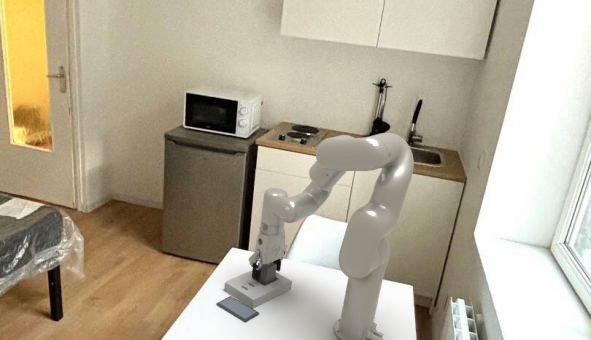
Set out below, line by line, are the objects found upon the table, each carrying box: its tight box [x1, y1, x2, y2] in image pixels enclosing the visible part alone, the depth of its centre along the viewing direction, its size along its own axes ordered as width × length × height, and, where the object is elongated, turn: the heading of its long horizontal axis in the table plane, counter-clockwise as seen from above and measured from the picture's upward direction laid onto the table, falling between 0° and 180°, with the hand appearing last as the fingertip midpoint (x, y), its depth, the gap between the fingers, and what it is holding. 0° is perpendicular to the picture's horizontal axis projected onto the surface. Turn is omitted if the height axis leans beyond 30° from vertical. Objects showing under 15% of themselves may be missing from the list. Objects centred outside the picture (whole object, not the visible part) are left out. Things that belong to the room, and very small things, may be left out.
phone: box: [216, 295, 260, 323], centre depth 145 cm, size 12×6×1 cm, turn 53°
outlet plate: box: [223, 270, 293, 309], centre depth 157 cm, size 13×18×3 cm
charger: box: [256, 261, 277, 286], centre depth 158 cm, size 4×4×8 cm
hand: (266, 274), depth 158 cm, fingers open, 9 cm apart
